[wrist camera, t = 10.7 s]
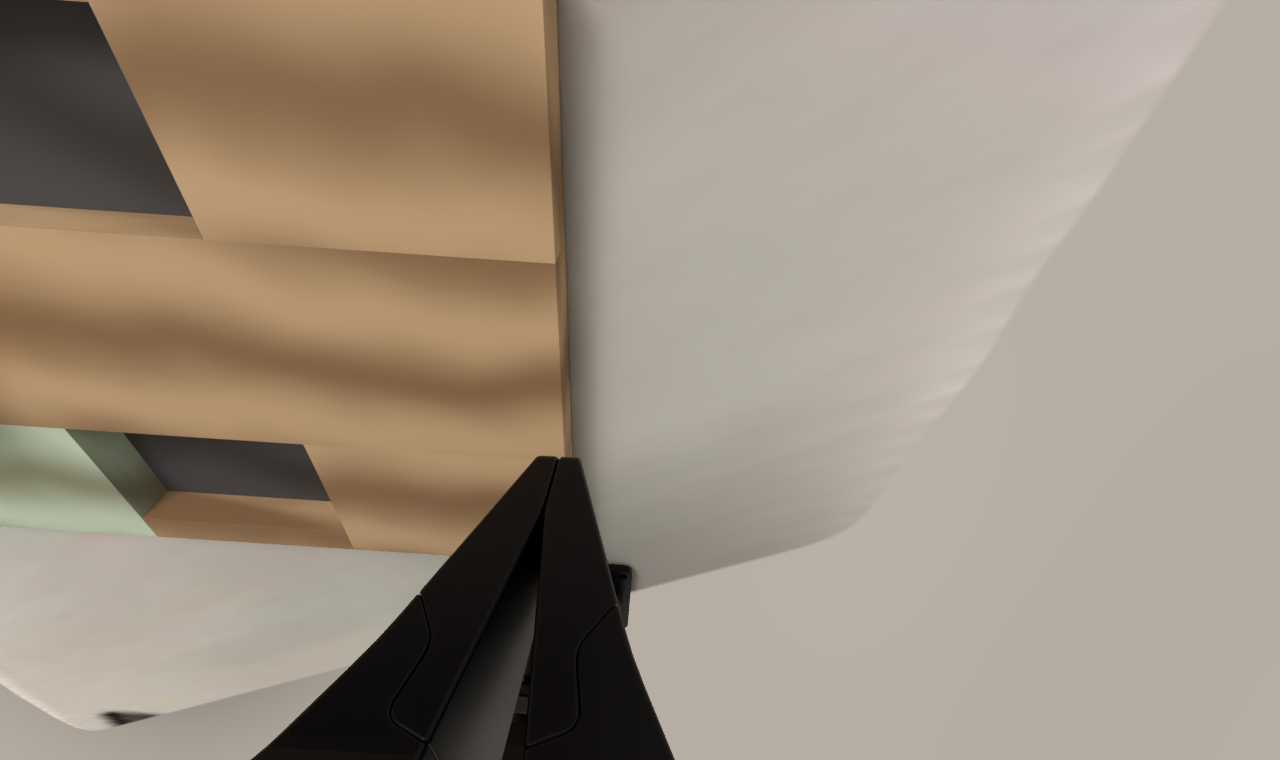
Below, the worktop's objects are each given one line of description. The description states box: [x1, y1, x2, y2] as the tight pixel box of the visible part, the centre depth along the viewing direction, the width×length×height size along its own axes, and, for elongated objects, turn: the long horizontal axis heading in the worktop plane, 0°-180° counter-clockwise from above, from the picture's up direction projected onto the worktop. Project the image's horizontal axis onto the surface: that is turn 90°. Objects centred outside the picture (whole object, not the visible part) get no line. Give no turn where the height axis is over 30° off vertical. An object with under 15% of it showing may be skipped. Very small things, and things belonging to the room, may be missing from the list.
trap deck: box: [0, 0, 572, 555], centre depth 20 cm, size 24×32×2 cm
